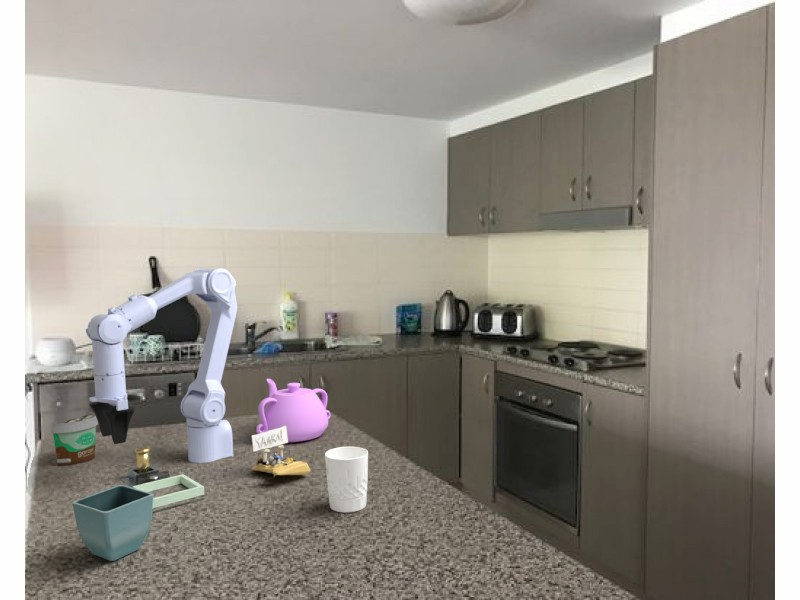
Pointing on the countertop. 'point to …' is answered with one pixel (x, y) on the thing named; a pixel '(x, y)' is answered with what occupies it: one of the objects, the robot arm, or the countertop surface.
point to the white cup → (347, 478)
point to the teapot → (294, 412)
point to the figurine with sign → (276, 454)
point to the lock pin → (142, 459)
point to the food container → (75, 440)
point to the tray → (193, 491)
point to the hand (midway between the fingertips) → (113, 439)
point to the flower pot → (114, 520)
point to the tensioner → (145, 476)
